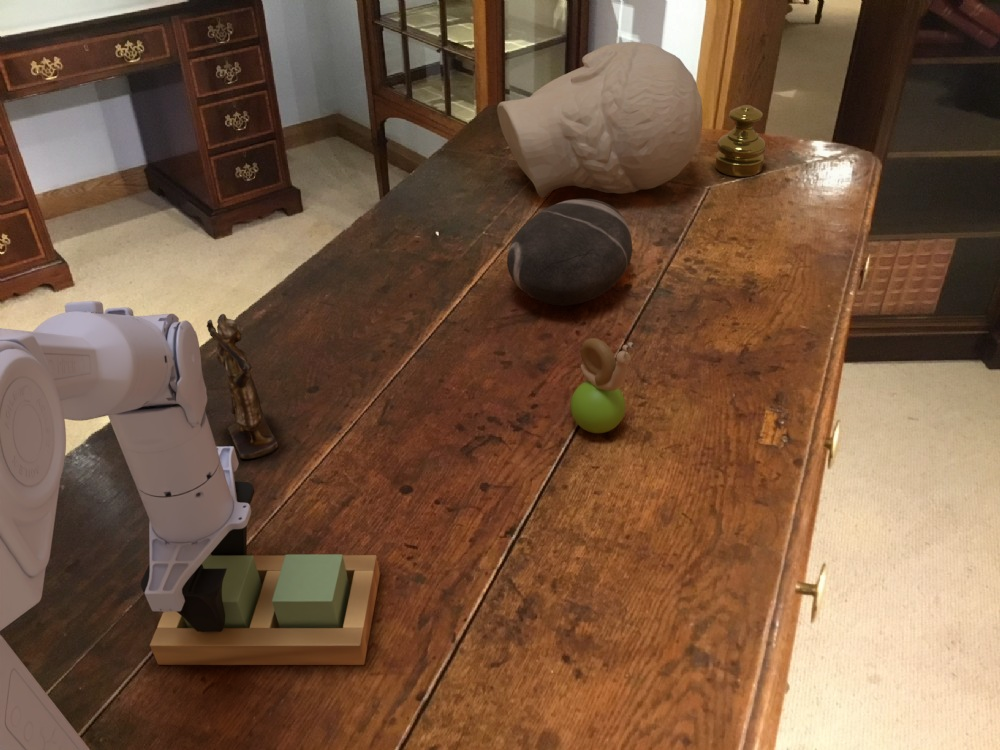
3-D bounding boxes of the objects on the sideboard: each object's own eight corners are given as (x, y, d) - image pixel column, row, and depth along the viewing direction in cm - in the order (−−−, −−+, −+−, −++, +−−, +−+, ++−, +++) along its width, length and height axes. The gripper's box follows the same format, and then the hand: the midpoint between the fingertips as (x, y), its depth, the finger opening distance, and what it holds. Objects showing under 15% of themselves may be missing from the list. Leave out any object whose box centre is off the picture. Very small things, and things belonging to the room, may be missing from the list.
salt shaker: (772, 170, 135) (782, 108, 129) (736, 181, 132) (745, 118, 126) (740, 155, 140) (748, 95, 134) (704, 166, 137) (712, 104, 131)
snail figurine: (603, 457, 83) (608, 356, 76) (559, 425, 87) (560, 326, 80) (642, 433, 85) (651, 334, 78) (597, 403, 89) (602, 306, 82)
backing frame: (364, 665, 65) (360, 645, 63) (158, 665, 66) (149, 645, 64) (380, 574, 72) (376, 554, 70) (193, 575, 73) (186, 555, 71)
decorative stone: (545, 242, 118) (545, 174, 112) (647, 259, 113) (652, 189, 107) (489, 312, 104) (486, 239, 98) (602, 335, 99) (606, 260, 93)
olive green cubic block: (251, 642, 67) (237, 602, 64) (193, 642, 67) (177, 602, 64) (265, 595, 71) (253, 555, 68) (210, 595, 71) (196, 555, 68)
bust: (506, 163, 144) (685, 140, 142) (509, 233, 126) (714, 208, 123) (489, 39, 131) (685, 11, 129) (490, 97, 113) (718, 65, 111)
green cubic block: (341, 642, 67) (332, 601, 64) (283, 642, 67) (271, 601, 64) (351, 594, 70) (342, 554, 67) (296, 594, 71) (285, 554, 68)
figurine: (284, 460, 84) (253, 333, 75) (246, 473, 83) (209, 346, 74) (264, 418, 89) (232, 295, 80) (227, 430, 88) (191, 307, 79)
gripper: (202, 547, 53) (248, 675, 61) (260, 402, 65) (292, 526, 73) (91, 548, 53) (151, 675, 61) (169, 403, 65) (211, 526, 73)
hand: (222, 594), depth 67 cm, fingers open, 6 cm apart
